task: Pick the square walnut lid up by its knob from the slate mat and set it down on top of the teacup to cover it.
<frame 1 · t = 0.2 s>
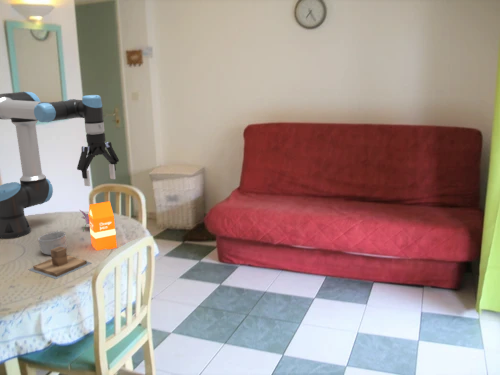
hand: (100, 182, 215), 28 cm above the table, tool pointing down, fingers open, 13 cm apart
mat: (60, 267, 197), on the table
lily: (90, 229, 241), on the table
lid: (60, 266, 197), point 1 cm above the table, touching mat
orange juice: (104, 247, 218), on the table
teacup: (56, 252, 214), on the table
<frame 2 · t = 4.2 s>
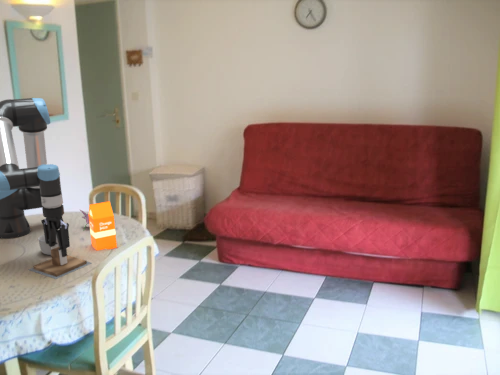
hand: (60, 262, 197), 2 cm above the table, tool pointing down, fingers closed on lid, 4 cm apart
lid: (60, 266, 197), point 1 cm above the table, touching gripper, mat
everything else where it was.
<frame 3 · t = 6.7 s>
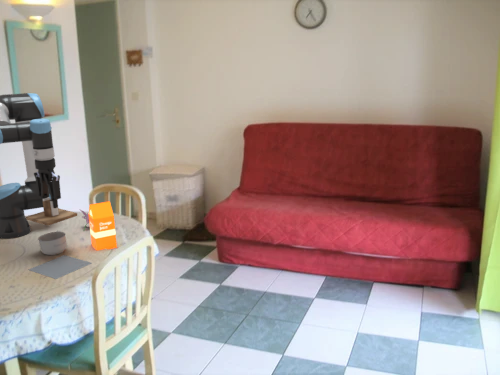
hand: (51, 214, 206), 18 cm above the table, tool pointing down, fingers closed on lid, 4 cm apart
lid: (52, 217, 206), point 16 cm above the table, touching gripper
everything else where it was.
when the fingers open (11 cm above the table, at t = 9.4 s): lid drops 2 cm, resting on teacup.
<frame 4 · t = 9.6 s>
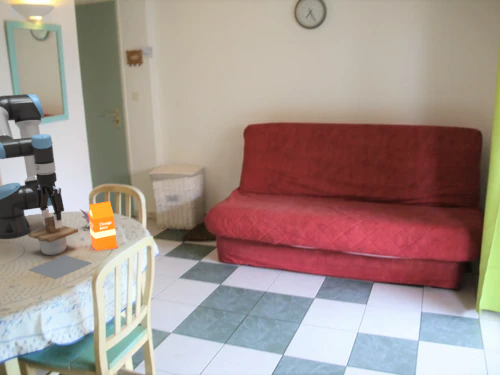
hand: (52, 225, 211), 12 cm above the table, tool pointing down, fingers open, 7 cm apart
lid: (53, 234, 212), point 8 cm above the table, touching teacup
teacup: (56, 252, 214), on the table, touching lid
everything else where it was.
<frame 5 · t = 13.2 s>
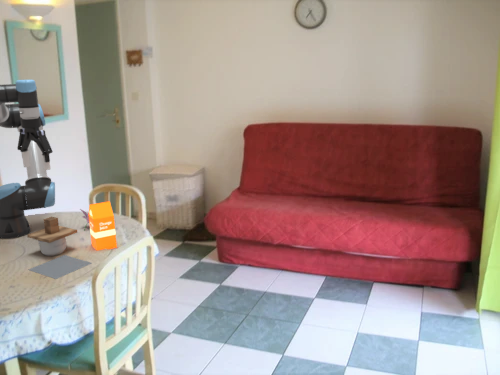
hand: (37, 168, 213), 35 cm above the table, tool pointing down, fingers open, 13 cm apart
at the end: lid inside the target area on the teacup (0.4 cm from its centre), point 8.2 cm above the teacup's base; lid touching teacup; teacup tilted 0° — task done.
